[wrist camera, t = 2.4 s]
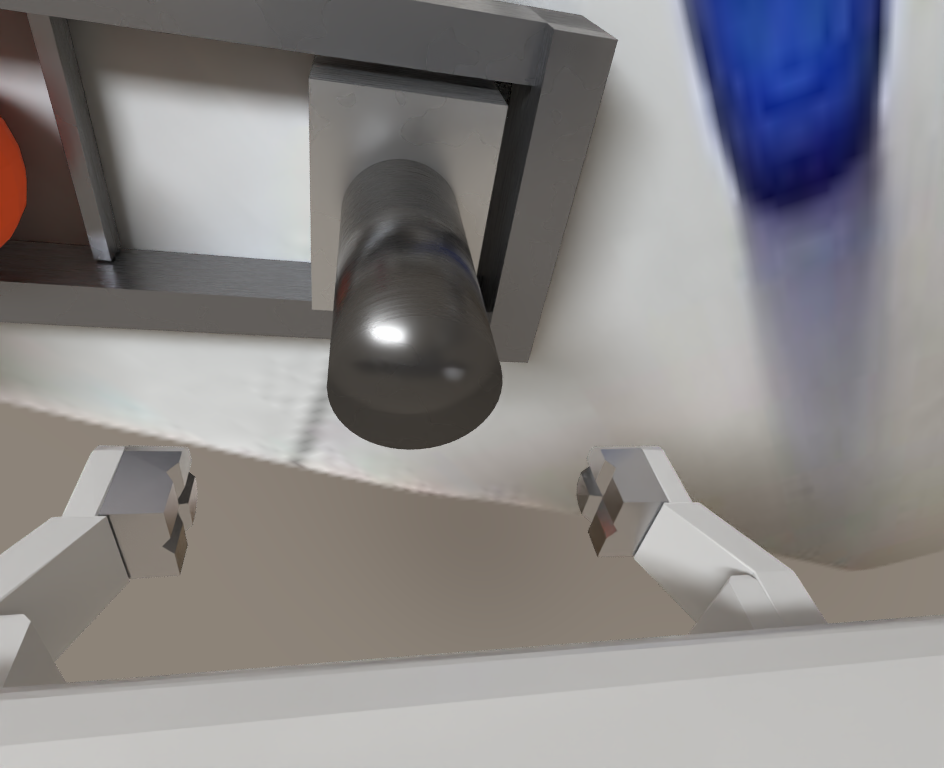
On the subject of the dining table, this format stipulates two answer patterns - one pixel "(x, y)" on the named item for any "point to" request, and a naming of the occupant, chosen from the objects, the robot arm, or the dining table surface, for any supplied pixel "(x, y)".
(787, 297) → the dining table surface
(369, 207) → the ram
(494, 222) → the press
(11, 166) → the clementine
